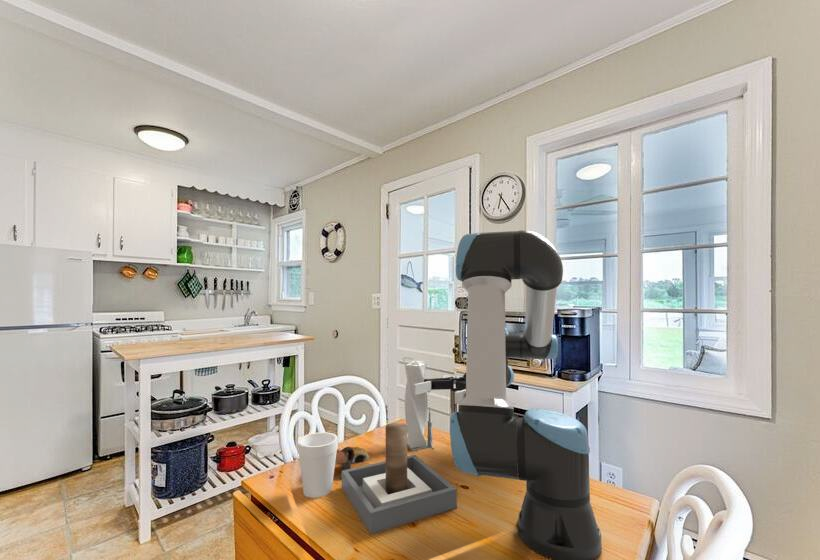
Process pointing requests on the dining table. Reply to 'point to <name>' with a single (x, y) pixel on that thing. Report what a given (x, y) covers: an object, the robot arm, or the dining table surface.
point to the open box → (402, 510)
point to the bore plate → (378, 496)
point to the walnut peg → (396, 457)
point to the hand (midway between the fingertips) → (434, 393)
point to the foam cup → (317, 462)
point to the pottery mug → (345, 458)
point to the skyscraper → (416, 408)
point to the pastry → (359, 455)
